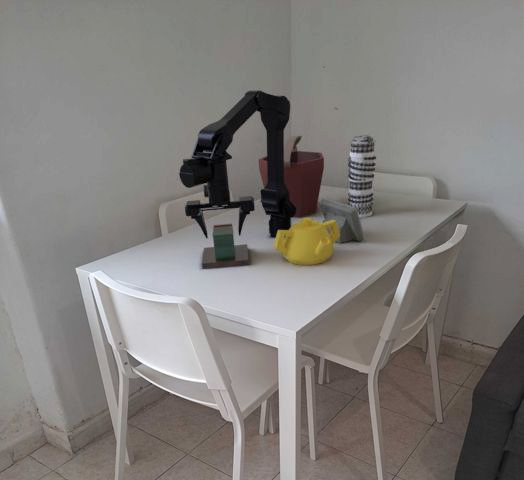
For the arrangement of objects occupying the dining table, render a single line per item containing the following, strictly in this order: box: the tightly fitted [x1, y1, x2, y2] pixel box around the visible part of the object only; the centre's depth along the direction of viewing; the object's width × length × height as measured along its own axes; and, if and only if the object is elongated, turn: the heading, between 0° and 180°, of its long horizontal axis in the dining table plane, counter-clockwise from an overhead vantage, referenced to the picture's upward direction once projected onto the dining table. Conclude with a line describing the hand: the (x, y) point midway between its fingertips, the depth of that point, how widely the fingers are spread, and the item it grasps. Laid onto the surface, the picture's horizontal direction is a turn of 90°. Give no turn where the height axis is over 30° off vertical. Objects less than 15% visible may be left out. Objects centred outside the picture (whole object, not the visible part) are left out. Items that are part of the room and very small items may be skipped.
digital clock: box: [319, 198, 365, 244], centre depth 150 cm, size 16×9×11 cm, turn 20°
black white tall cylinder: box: [346, 134, 377, 218], centre depth 165 cm, size 9×9×25 cm
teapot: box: [273, 217, 340, 266], centre depth 135 cm, size 20×18×11 cm
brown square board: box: [201, 243, 250, 269], centre depth 142 cm, size 13×13×2 cm
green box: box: [212, 223, 235, 260], centre depth 140 cm, size 9×6×7 cm, turn 4°
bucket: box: [258, 135, 325, 218], centre depth 173 cm, size 24×22×25 cm
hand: (223, 236), depth 139 cm, fingers open, 9 cm apart
